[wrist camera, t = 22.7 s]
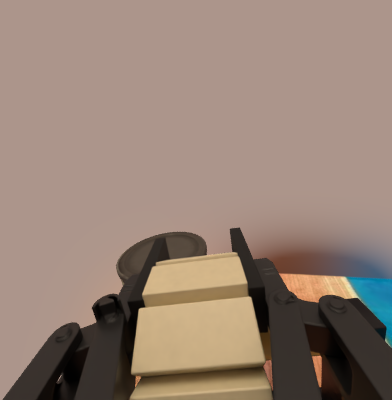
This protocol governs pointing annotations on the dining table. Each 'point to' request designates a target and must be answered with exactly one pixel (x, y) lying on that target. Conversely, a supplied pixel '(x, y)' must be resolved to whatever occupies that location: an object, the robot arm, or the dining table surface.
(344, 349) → the robot arm
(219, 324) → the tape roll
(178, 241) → the coffee can
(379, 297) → the dining table surface
